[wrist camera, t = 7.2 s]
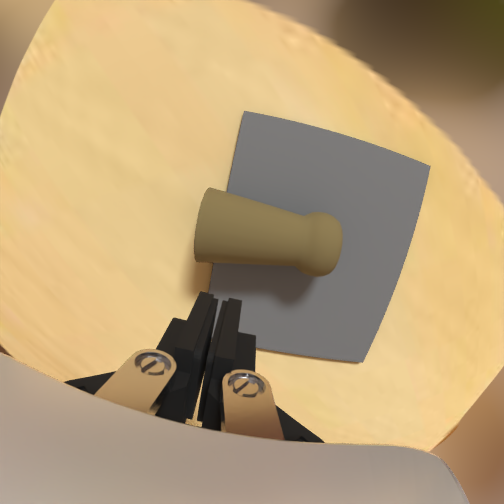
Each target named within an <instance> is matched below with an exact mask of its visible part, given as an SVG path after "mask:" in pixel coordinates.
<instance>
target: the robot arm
mask: <svg viewBox="0 0 504 504" xmlns="http://www.w3.org/2000/svg"><path fill="white" fill-rule="evenodd" d="M218 300H219V299H216V298H214V294H210V293H205V292H200V293H199V296H198V298H197V300H196V302H195V304H194V306H193V308H192V310H191V313H190V315H189V317H188V319H187V321H186V320H182V319H178V318H173V319H172V321H171V323H170V324H169V326H168V328H167V330H166V332H165V333H164V335H163V337H162V339H161V341H160V343H159V344H158V346H157V348H156V349H144V350H140V351H137V352H135V353H134V354H133V355H132V356H131V357H130V358H129V359H128V360H127V361H126V362H125V363H124V364H123V365H122V366H121V367H120V368H119V369H118V370H117V371H115V372H110V373H105V374H101V375H96V376H91V377H85V378H80V379H75V380H69V381H66V382H61V381H59V380H57V379H55V378H53V377H51V376H49V375H46V374H44V373H42V372H40V371H38V370H36V369H34V368H32V367H30V366H28V365H26V364H24V363H22V362H20V361H18V360H16V359H14V358H12V357H10V356H8V355H6V354H3V353H1V352H0V504H469V502H468V500H467V497H466V495H465V494H464V491H463V489H462V487H461V485H460V484H459V482H458V480H457V478H456V477H455V475H454V474H453V472H452V471H451V469H450V468H449V467H448V465H447V464H446V463H445V462H444V461H443V460H442V459H441V458H439V457H438V456H437V455H434V454H432V453H430V452H427V451H424V450H421V449H416V448H412V447H407V446H399V445H389V444H345V443H325V442H324V441H322V440H321V439H320V438H319V437H318V436H316V435H315V434H313V433H312V432H311V431H309V430H308V429H307V428H305V427H304V426H302V425H301V424H300V423H298V422H297V421H296V420H294V419H293V418H292V417H290V416H289V415H288V414H287V413H285V412H284V411H283V410H281V409H280V408H279V407H278V406H276V405H275V402H274V398H273V394H272V390H271V386H270V384H269V382H268V381H267V380H266V379H265V378H264V377H263V376H261V375H260V374H258V373H256V372H255V358H256V335H252V334H247V333H241V332H238V329H239V322H240V314H241V307H242V300H238V299H233V298H229V299H228V301H225V300H223V301H222V305H221V308H220V312H219V315H218V319H217V323H216V326H215V330H214V333H213V328H214V322H215V317H216V311H217V306H218ZM212 333H213V337H212ZM211 339H212V341H211ZM204 372H205V373H204ZM203 376H204V379H203ZM202 380H203V385H202V391H201V398H200V404H199V410H198V417H197V421H201V422H202V427H197V426H193V425H189V424H185V422H186V418H188V419H192V418H193V414H194V411H195V407H196V403H197V399H198V395H199V391H200V387H201V384H202Z"/></svg>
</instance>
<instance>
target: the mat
mask: <svg viewBox="0 0 504 504" xmlns="http://www.w3.org/2000/svg"><path fill="white" fill-rule="evenodd" d="M429 171H430V166H429V165H426V164H424V163H422V162H419V161H417V160H414V159H412V158H409V157H407V156H404V155H401V154H399V153H396V152H393V151H391V150H388V149H385V148H382V147H380V146H377V145H374V144H371V143H368V142H365V141H362V140H359V139H356V138H352V137H349V136H346V135H343V134H339V133H336V132H332V131H329V130H325V129H322V128H318V127H314V126H310V125H307V124H303V123H299V122H295V121H290V120H286V119H282V118H277V117H273V116H268V115H263V114H258V113H253V112H248V111H244V114H243V118H242V123H241V127H240V132H239V136H238V141H237V146H236V150H235V155H234V160H233V164H232V169H231V174H230V179H229V184H228V189H227V193H231V194H234V195H238V196H241V197H244V198H248V199H251V200H254V201H258V202H261V203H264V204H267V205H271V206H274V207H277V208H280V209H283V210H287V211H290V212H293V213H296V214H299V215H302V216H305V215H307V214H309V213H312V212H323V213H328V214H330V215H332V216H333V217H335V218H336V219H337V220H338V221H339V222H340V224H341V227H342V232H343V242H342V249H341V254H340V258H339V261H338V263H337V265H336V267H335V269H334V270H333V271H332V272H331V273H330V274H328V275H326V276H322V277H314V276H309V275H307V274H304V273H302V272H300V271H299V270H298V269H297V268H296V267H295V266H281V265H256V264H232V263H213V269H212V275H211V281H210V287H209V293H210V294H214V298H216V299H219V300H218V306H217V311H216V317H215V322H214V328H213V333H214V330H215V326H216V323H217V319H218V315H219V312H220V308H221V305H222V301H223V300H225V301H228V299H229V298H233V299H238V300H242V307H241V314H240V322H239V329H238V332H241V333H247V334H252V335H256V348H261V349H267V350H272V351H278V352H285V353H291V354H297V355H304V356H311V357H319V358H326V359H335V360H343V361H352V362H362V363H363V361H364V359H365V357H366V355H367V353H368V351H369V349H370V346H371V344H372V342H373V340H374V338H375V335H376V333H377V331H378V329H379V326H380V324H381V322H382V319H383V317H384V315H385V312H386V310H387V307H388V305H389V302H390V300H391V297H392V295H393V292H394V289H395V287H396V284H397V281H398V279H399V276H400V273H401V270H402V267H403V264H404V261H405V259H406V256H407V252H408V249H409V246H410V243H411V240H412V237H413V233H414V230H415V227H416V223H417V220H418V216H419V212H420V209H421V205H422V201H423V197H424V193H425V189H426V185H427V180H428V176H429ZM213 333H212V337H213Z"/></svg>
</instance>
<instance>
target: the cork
mask: <svg viewBox="0 0 504 504" xmlns="http://www.w3.org/2000/svg"><path fill="white" fill-rule="evenodd" d="M342 242H343V232H342V227H341V224H340V222H339V221H338V220H337V219H336V218H335V217H333V216H332V215H330V214H328V213H323V212H312V213H309V214H307V215H305V216H302V215H299V214H296V213H293V212H290V211H287V210H283V209H280V208H277V207H274V206H271V205H267V204H264V203H261V202H258V201H254V200H251V199H248V198H244V197H241V196H238V195H234V194H231V193H227V192H224V191H220V190H217V189H213V188H208V189H207V191H206V192H205V194H204V197H203V199H202V202H201V206H200V210H199V213H198V219H197V224H196V231H195V240H194V254H195V260H196V262H210V263H232V264H256V265H281V266H295V267H296V268H297V269H298V270H299V271H300V272H302V273H304V274H307V275H309V276H314V277H322V276H326V275H328V274H330V273H331V272H332V271H333V270H334V269H335V267H336V265H337V263H338V261H339V258H340V254H341V249H342Z"/></svg>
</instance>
